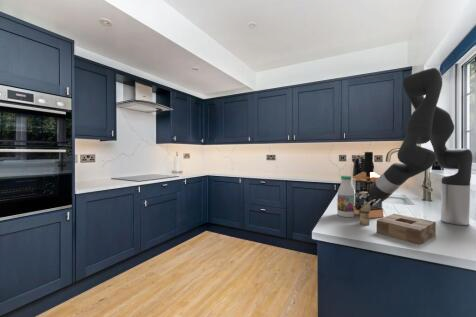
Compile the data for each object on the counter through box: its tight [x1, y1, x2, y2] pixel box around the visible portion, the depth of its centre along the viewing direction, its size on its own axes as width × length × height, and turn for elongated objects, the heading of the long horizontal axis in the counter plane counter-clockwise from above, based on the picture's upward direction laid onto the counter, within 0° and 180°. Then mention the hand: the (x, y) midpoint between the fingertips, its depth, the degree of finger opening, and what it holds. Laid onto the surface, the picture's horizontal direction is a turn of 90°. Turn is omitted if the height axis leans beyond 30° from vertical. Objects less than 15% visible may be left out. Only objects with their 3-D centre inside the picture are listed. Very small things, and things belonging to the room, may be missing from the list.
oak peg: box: [359, 192, 370, 226], centre depth 98 cm, size 4×4×14 cm
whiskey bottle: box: [354, 151, 384, 219], centre depth 112 cm, size 10×10×32 cm
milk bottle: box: [336, 175, 355, 218], centre depth 111 cm, size 8×8×20 cm
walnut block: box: [376, 213, 437, 245], centre depth 87 cm, size 16×14×5 cm
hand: (361, 208), depth 100 cm, fingers closed on oak peg, 4 cm apart
